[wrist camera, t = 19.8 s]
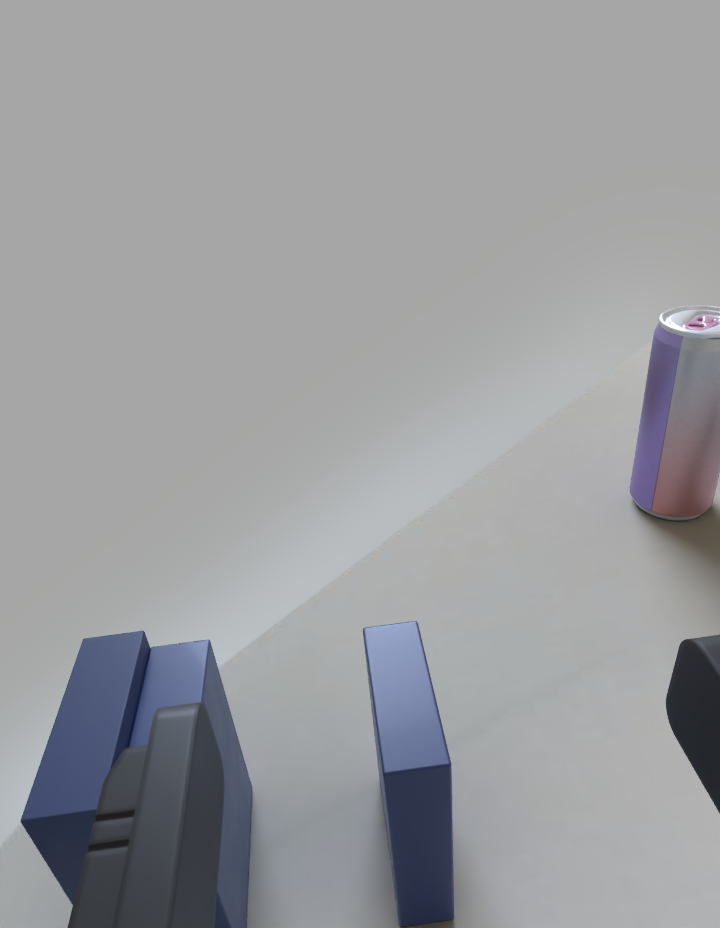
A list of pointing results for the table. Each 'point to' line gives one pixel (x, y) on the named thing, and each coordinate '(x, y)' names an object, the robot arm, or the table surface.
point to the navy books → (128, 725)
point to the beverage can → (680, 417)
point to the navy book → (412, 773)
